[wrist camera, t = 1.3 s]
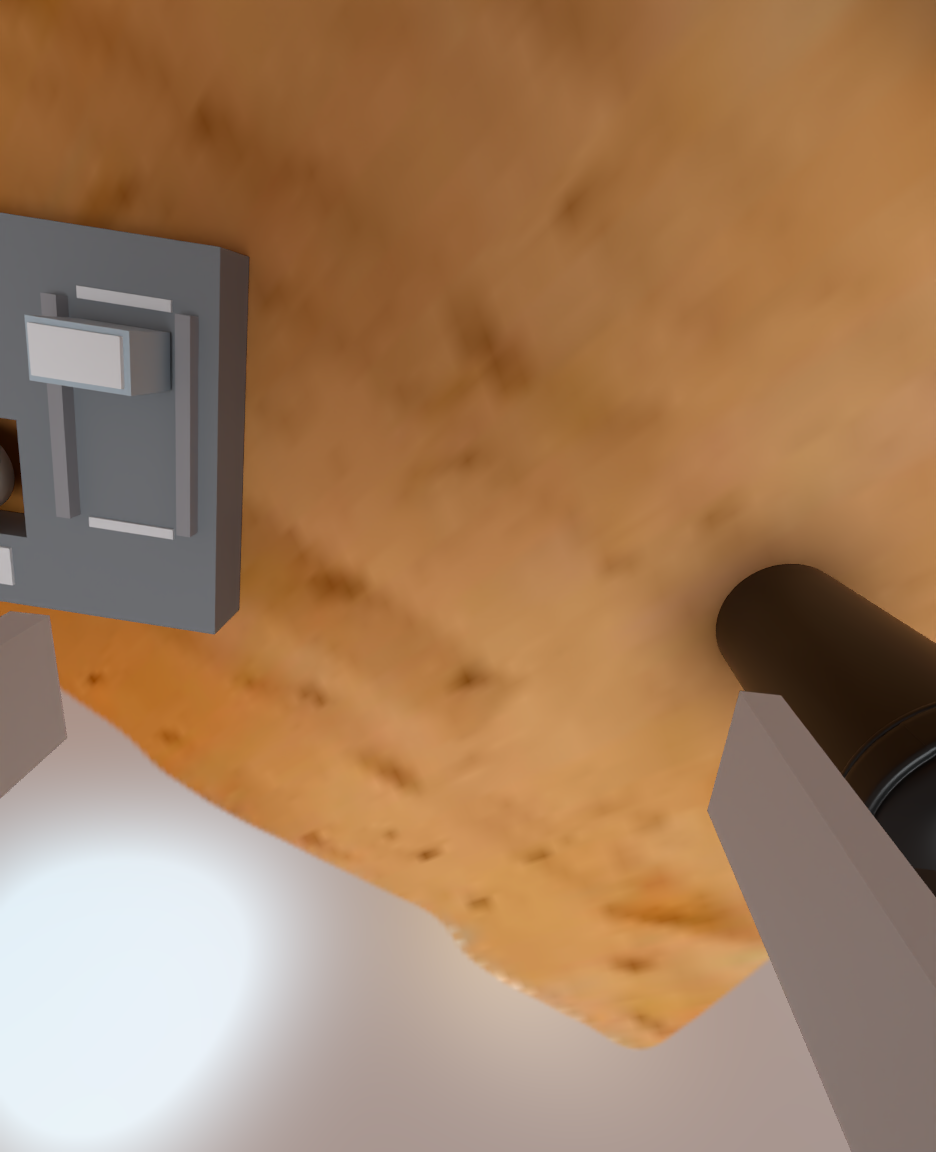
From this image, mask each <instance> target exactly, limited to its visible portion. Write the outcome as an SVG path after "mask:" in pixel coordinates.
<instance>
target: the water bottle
mask: <svg viewBox="0 0 936 1152" xmlns="http://www.w3.org/2000/svg"><path fill="white" fill-rule="evenodd" d="M716 638H717V643H718V646H719V649H720V651H721V653H722V655H723V657H724V659H725V660H726V662H727V663H728V665H729V666H730V668H731V670H732V671H733V673H734V674H735V676H736V678H737V679H738V681H739V682H740V684H741V686H742V687H743V689H744V690H745V692H755V693H764V694H773V695H781V696H782V697H783V699H784V700H785V701H786V702H787V704H788V705H789V706H790V708H791V709H792V710H793V712H794V713H795V714H796V716H797V717H798V718H799V719H800V721H801V722H802V723H803V725H804V726H805V727H806V729H807V730H808V731H809V732H810V734H811V735H812V736H813V738H814V739H815V740H816V742H817V743H818V744H819V746H820V747H821V748H822V749H823V751H824V752H825V753H826V755H827V756H828V757H829V759H830V760H831V761H832V763H833V764H834V765H835V766H836V768H837V769H838V770H839V772H840V773H841V774H842V776H843V777H844V778H845V780H846V781H847V782H848V783H849V785H850V786H851V787H852V789H853V790H854V791H855V793H856V794H857V795H858V796H859V798H860V799H861V800H862V802H863V803H864V804H865V806H866V807H867V808H868V810H869V811H870V812H871V813H872V815H873V816H874V817H875V819H876V820H877V821H878V823H879V824H880V825H881V827H882V828H883V829H884V830H885V832H886V833H887V834H888V836H889V837H890V838H891V840H892V841H893V842H894V844H895V845H896V846H897V847H898V849H899V850H900V851H901V853H902V854H903V855H904V857H905V858H906V859H907V861H908V862H909V863H910V864H911V866H912V867H913V868H919V869H927V870H936V643H934V642H933V641H931V640H930V639H928V638H926V637H925V636H923V635H922V634H920V633H919V632H917V631H915V630H914V629H912V628H911V627H909V626H908V625H906V624H904V623H903V622H901V621H900V620H898V619H897V618H895V617H893V616H892V615H890V614H889V613H887V612H885V611H884V610H882V609H881V608H879V607H878V606H876V605H874V604H873V603H871V602H870V601H868V600H867V599H865V598H863V597H862V596H860V595H859V594H857V593H856V592H854V591H852V590H851V589H849V588H848V587H846V586H845V585H843V584H841V583H840V582H838V581H837V580H835V579H834V578H832V577H830V576H829V575H827V574H826V573H824V572H822V571H820V570H818V569H816V568H813V567H810V566H805V565H799V564H784V565H777V566H773V567H769V568H766V569H763V570H761V571H758V572H756V573H754V574H753V575H751V576H749V577H748V578H746V579H745V580H743V581H742V582H741V583H740V584H739V585H737V586H736V587H735V588H734V589H733V591H732V592H731V593H730V594H729V595H728V597H727V598H726V600H725V601H724V603H723V605H722V607H721V609H720V612H719V615H718V619H717V624H716Z"/></svg>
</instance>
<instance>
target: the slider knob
mask: <svg viewBox="0 0 936 1152" xmlns="http://www.w3.org/2000/svg"><path fill="white" fill-rule="evenodd" d="M24 317H25V329H26V342H27V354H28V367H29V379H30V380H31V381H37V382H44V383H50V384H57V385H63V386H69V387H76V388H82V389H89V390H95V391H101V392H108V393H114V394H121V395H127V396H136V395H143V394H150V393H157V392H164V391H171V385H170V332H163V331H157V330H151V329H144V328H138V327H131V326H125V325H119V324H112V323H106V322H99V321H93V320H87V319H80V318H70V317H54V316H38V315H24Z"/></svg>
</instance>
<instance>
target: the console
mask: <svg viewBox="0 0 936 1152" xmlns="http://www.w3.org/2000/svg"><path fill="white" fill-rule="evenodd" d="M248 280H249V257H248V256H245V255H242V254H239V253H236V252H233V251H230V250H227V249H224V248H221V247H216V246H210V245H204V244H197V243H191V242H184V241H178V240H172V239H165V238H159V237H153V236H146V235H140V234H133V233H127V232H121V231H114V230H108V229H102V228H95V227H89V226H82V225H76V224H70V223H63V222H57V221H50V220H44V219H38V218H31V217H25V216H19V215H12V214H6V213H0V418H6V419H12V420H16V423H17V434H18V445H19V456H20V468H21V479H22V490H23V501H24V512H25V514H22V513H16V512H10V511H3V510H0V601H4V602H11V603H17V604H23V605H30V606H36V607H43V608H49V609H55V610H62V611H68V612H75V613H81V614H88V615H94V616H100V617H107V618H113V619H120V620H126V621H132V622H139V623H145V624H152V625H158V626H164V627H171V628H177V629H184V630H190V631H197V632H203V633H209V634H215V633H216V632H217V631H218V630H219V629H220V628H221V627H222V626H223V625H224V624H225V623H226V622H227V621H228V620H229V619H230V618H231V617H232V616H233V615H234V614H235V613H236V612H237V611H238V610H239V596H240V561H241V526H242V491H243V456H244V421H245V386H246V350H247V315H248ZM24 315H38V316H54V317H70V318H80V319H87V320H93V321H99V322H106V323H112V324H119V325H125V326H131V327H138V328H144V329H151V330H157V331H163V332H170V385H171V391H164V392H157V393H150V394H143V395H136V396H127V395H121V394H114V393H108V392H101V391H95V390H89V389H82V388H76V387H69V386H63V385H57V384H50V383H44V382H37V381H31V380H30V379H29V367H28V354H27V342H26V329H25V317H24Z"/></svg>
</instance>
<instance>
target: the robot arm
mask: <svg viewBox="0 0 936 1152" xmlns="http://www.w3.org/2000/svg"><path fill="white" fill-rule="evenodd" d="M65 739H67V733H66V727H65V719H64V712H63V706H62V699H61V692H60V685H59V678H58V671H57V664H56V657H55V650H54V643H53V637H52V630H51V623H50V616H49V615H40V614H30V613H21V612H12V611H10V612H8V613H6V614H4V615H3V616H1V617H0V798H1V797H3V796H4V795H5V794H6V793H7V792H8V791H9V790H10V789H11V788H12V787H14V786H15V785H16V784H17V783H18V782H19V781H20V780H21V779H22V778H24V777H25V776H26V775H27V774H28V773H29V772H30V771H31V770H32V769H33V768H35V767H36V766H37V765H38V764H39V763H40V762H41V761H42V760H43V759H45V758H46V757H47V756H48V755H49V754H50V753H51V752H52V751H53V750H54V749H56V748H57V747H58V746H59V745H60V744H61V743H62V742H63V741H64V740H65ZM707 811H708V813H709V816H710V818H711V820H712V823H713V825H714V827H715V830H716V832H717V835H718V837H719V839H720V842H721V844H722V846H723V849H724V851H725V853H726V856H727V858H728V861H729V863H730V865H731V868H732V870H733V872H734V875H735V877H736V880H737V882H738V884H739V887H740V889H741V891H742V894H743V896H744V898H745V901H746V903H747V906H748V908H749V910H750V913H751V915H752V917H753V920H754V922H755V925H756V927H757V929H758V932H759V934H760V936H761V939H762V941H763V943H764V946H765V948H766V951H767V953H768V955H769V958H770V960H771V962H772V965H773V967H774V970H775V972H776V974H777V977H778V979H779V981H780V984H781V986H782V988H783V991H784V993H785V996H786V998H787V1000H788V1003H789V1005H790V1007H791V1010H792V1012H793V1015H794V1017H795V1019H796V1022H797V1024H798V1026H799V1029H800V1031H801V1033H802V1036H803V1038H804V1041H805V1043H806V1045H807V1048H808V1050H809V1052H810V1055H811V1057H812V1059H813V1062H814V1064H815V1066H816V1069H817V1071H818V1074H819V1076H820V1078H821V1081H822V1083H823V1086H824V1088H825V1090H826V1093H827V1095H828V1097H829V1100H830V1102H831V1104H832V1107H833V1109H834V1112H835V1114H836V1116H837V1119H838V1121H839V1123H840V1126H841V1128H842V1131H843V1133H844V1135H845V1138H846V1140H847V1142H848V1145H849V1147H850V1149H851V1152H936V870H927V869H919V868H913V867H912V866H911V864H910V863H909V862H908V861H907V859H906V858H905V857H904V855H903V854H902V853H901V851H900V850H899V849H898V847H897V846H896V845H895V844H894V842H893V841H892V840H891V838H890V837H889V836H888V834H887V833H886V832H885V830H884V829H883V828H882V827H881V825H880V824H879V823H878V821H877V820H876V819H875V817H874V816H873V815H872V813H871V812H870V811H869V810H868V808H867V807H866V806H865V804H864V803H863V802H862V800H861V799H860V798H859V796H858V795H857V794H856V793H855V791H854V790H853V789H852V787H851V786H850V785H849V783H848V782H847V781H846V780H845V778H844V777H843V776H842V774H841V773H840V772H839V770H838V769H837V768H836V766H835V765H834V764H833V763H832V761H831V760H830V759H829V757H828V756H827V755H826V753H825V752H824V751H823V749H822V748H821V747H820V746H819V744H818V743H817V742H816V740H815V739H814V738H813V736H812V735H811V734H810V732H809V731H808V730H807V729H806V727H805V726H804V725H803V723H802V722H801V721H800V719H799V718H798V717H797V716H796V714H795V713H794V712H793V710H792V709H791V708H790V706H789V705H788V704H787V702H786V701H785V700H784V699H783V697H782V696H781V695H773V694H764V693H755V692H745V691H740V692H739V696H738V699H737V703H736V707H735V710H734V714H733V718H732V721H731V725H730V729H729V733H728V736H727V740H726V744H725V747H724V751H723V755H722V758H721V762H720V766H719V769H718V773H717V777H716V781H715V784H714V788H713V792H712V795H711V799H710V803H709V806H708V810H707Z"/></svg>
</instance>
